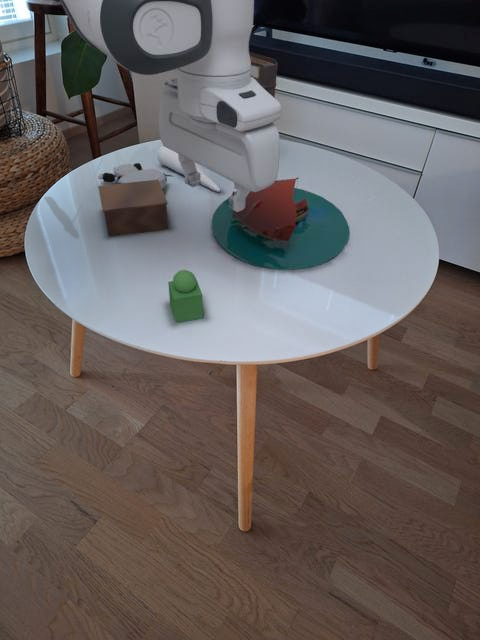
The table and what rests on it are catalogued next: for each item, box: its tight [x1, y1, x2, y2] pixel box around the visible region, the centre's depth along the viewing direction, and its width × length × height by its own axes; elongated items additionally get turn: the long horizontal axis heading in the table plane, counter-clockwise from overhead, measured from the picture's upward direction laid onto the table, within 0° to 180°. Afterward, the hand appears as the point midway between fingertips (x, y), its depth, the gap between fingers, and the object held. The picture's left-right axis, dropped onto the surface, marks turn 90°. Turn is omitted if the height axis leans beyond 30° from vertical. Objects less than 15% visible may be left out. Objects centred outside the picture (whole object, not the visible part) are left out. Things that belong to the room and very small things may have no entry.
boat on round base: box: [211, 177, 351, 271], centre depth 92 cm, size 28×28×11 cm
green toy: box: [167, 269, 204, 324], centre depth 73 cm, size 4×4×8 cm
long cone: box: [156, 145, 221, 193], centre depth 110 cm, size 6×6×19 cm
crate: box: [97, 180, 169, 237], centre depth 94 cm, size 12×10×6 cm
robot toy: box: [97, 162, 175, 190], centre depth 105 cm, size 12×4×15 cm
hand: (214, 196), depth 66 cm, fingers open, 8 cm apart
